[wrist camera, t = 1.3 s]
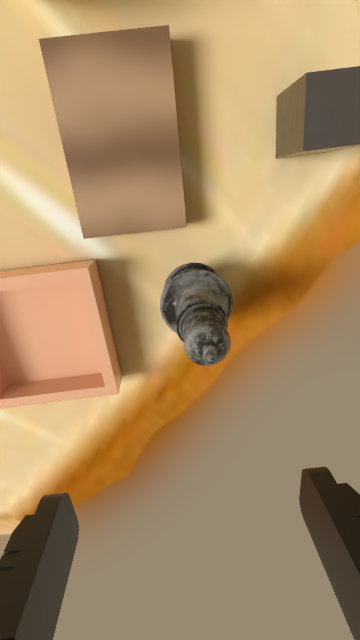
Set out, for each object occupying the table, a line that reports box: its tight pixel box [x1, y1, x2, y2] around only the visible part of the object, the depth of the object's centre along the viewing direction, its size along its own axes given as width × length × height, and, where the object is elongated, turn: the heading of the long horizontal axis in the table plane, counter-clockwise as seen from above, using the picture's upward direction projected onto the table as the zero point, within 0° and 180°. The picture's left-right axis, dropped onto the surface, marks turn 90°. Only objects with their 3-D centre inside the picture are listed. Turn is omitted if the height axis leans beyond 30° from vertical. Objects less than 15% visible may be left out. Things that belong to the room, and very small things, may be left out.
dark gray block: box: [276, 66, 360, 158], centre depth 21 cm, size 4×4×5 cm
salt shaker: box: [160, 263, 233, 366], centre depth 22 cm, size 6×6×12 cm
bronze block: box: [39, 25, 187, 239], centre depth 22 cm, size 12×8×2 cm, turn 6°
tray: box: [0, 259, 122, 409], centre depth 27 cm, size 12×12×3 cm
